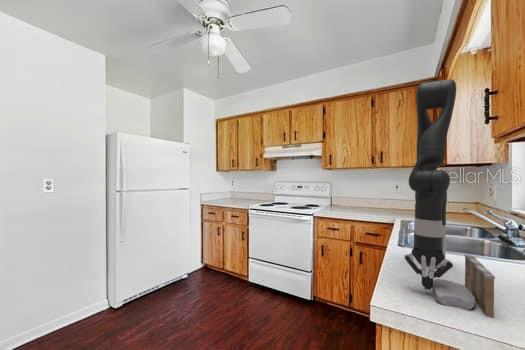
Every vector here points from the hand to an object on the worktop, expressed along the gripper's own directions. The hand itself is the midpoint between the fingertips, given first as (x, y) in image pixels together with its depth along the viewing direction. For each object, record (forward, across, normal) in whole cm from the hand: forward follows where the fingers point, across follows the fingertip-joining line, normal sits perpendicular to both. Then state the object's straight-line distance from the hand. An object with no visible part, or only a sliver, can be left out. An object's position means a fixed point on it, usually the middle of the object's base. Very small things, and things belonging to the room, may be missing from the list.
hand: (427, 288), depth 74 cm
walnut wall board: (+2, -13, -3) cm, 13 cm away
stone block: (+2, -7, 0) cm, 7 cm away
